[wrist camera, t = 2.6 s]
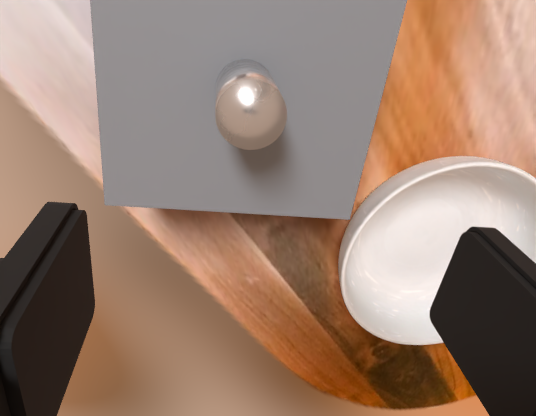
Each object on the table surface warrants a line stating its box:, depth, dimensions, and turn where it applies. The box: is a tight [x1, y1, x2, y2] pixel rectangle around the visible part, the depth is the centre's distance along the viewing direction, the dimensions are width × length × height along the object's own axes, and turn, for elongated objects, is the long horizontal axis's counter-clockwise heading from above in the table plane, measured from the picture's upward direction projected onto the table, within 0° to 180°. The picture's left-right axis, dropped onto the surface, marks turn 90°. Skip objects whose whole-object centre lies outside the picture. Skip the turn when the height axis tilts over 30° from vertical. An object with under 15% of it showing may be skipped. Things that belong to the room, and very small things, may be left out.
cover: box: [90, 0, 407, 220], centre depth 27 cm, size 18×18×15 cm
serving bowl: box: [338, 156, 536, 345], centre depth 41 cm, size 21×21×7 cm
